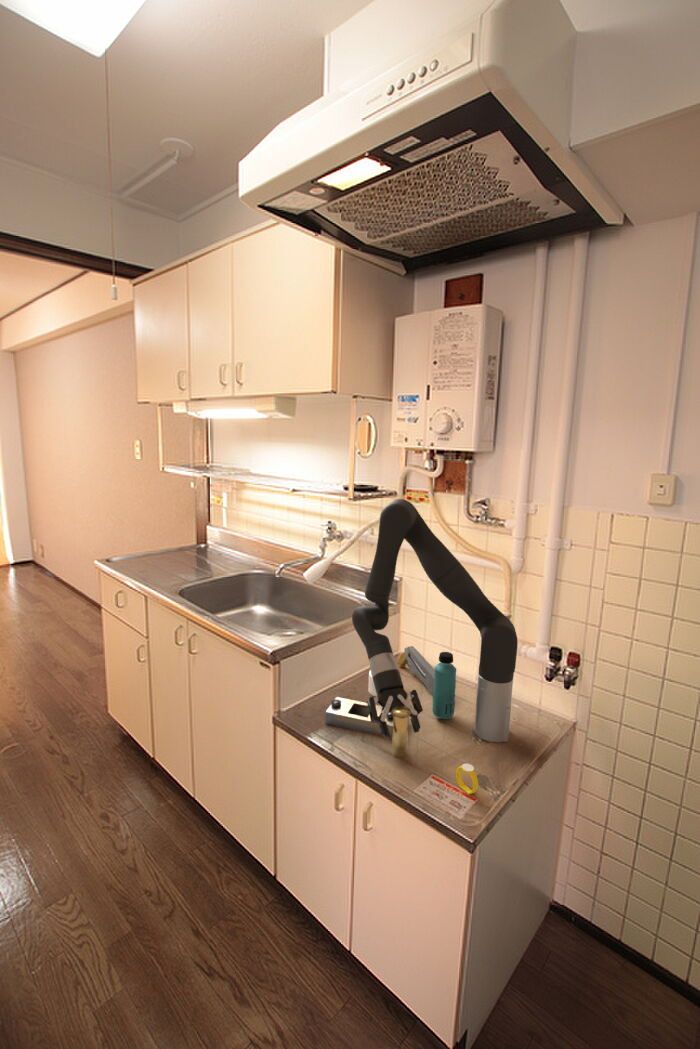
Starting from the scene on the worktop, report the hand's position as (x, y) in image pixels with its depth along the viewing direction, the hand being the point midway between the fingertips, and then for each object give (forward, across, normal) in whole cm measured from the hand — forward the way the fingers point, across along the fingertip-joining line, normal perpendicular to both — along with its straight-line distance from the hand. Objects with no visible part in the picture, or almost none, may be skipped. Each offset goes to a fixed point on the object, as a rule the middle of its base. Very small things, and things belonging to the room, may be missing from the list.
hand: (402, 734), depth 128 cm
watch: (+16, +9, -7) cm, 20 cm away
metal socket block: (-8, -3, +16) cm, 18 cm away
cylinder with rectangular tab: (-19, +9, +27) cm, 34 cm away
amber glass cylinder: (+3, 0, +5) cm, 6 cm away
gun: (-20, +24, +29) cm, 43 cm away
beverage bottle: (-4, +20, +13) cm, 24 cm away
